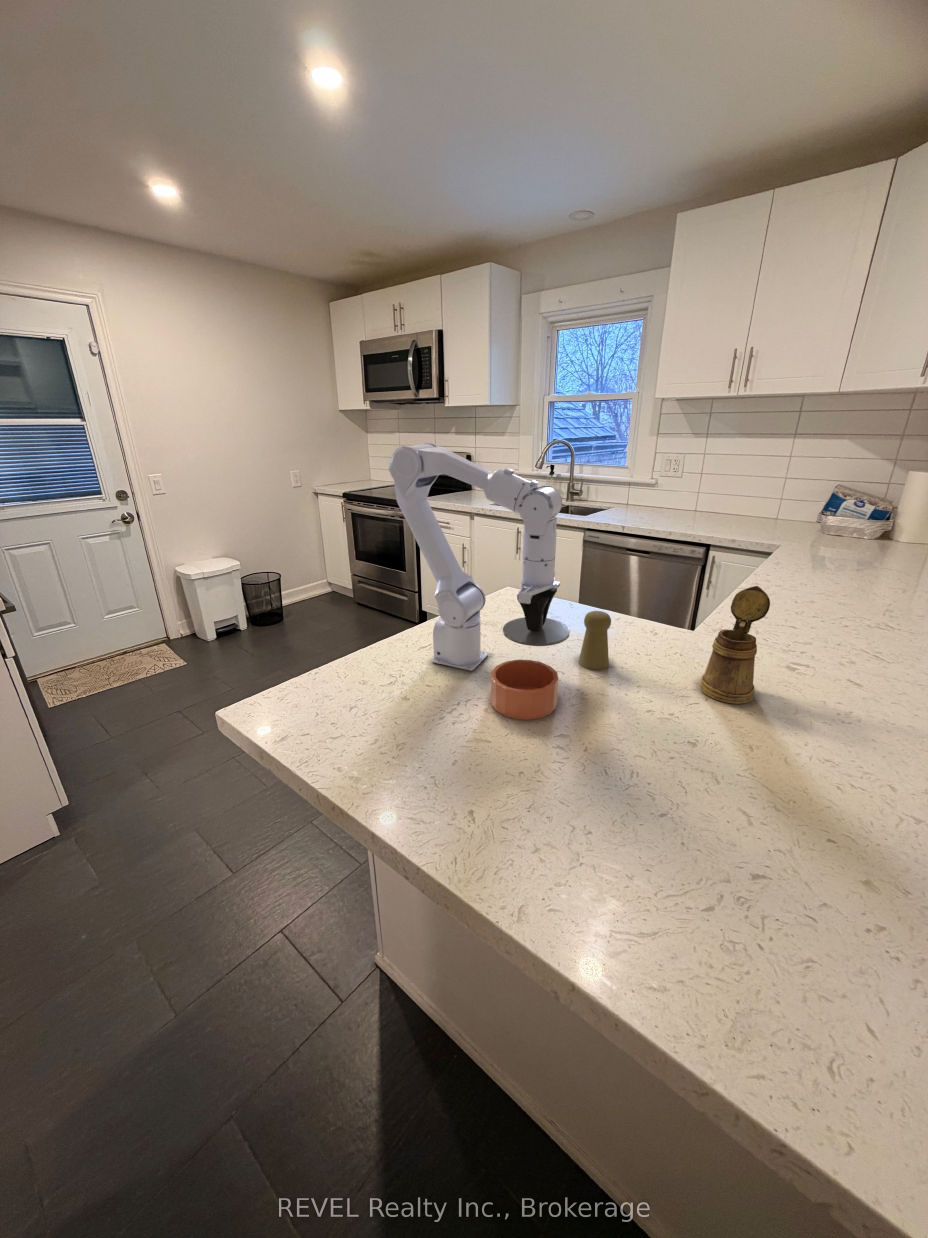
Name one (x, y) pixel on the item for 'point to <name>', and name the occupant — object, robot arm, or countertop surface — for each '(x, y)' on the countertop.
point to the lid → (536, 632)
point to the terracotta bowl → (524, 689)
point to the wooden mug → (736, 651)
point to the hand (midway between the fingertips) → (535, 627)
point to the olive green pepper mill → (595, 641)
